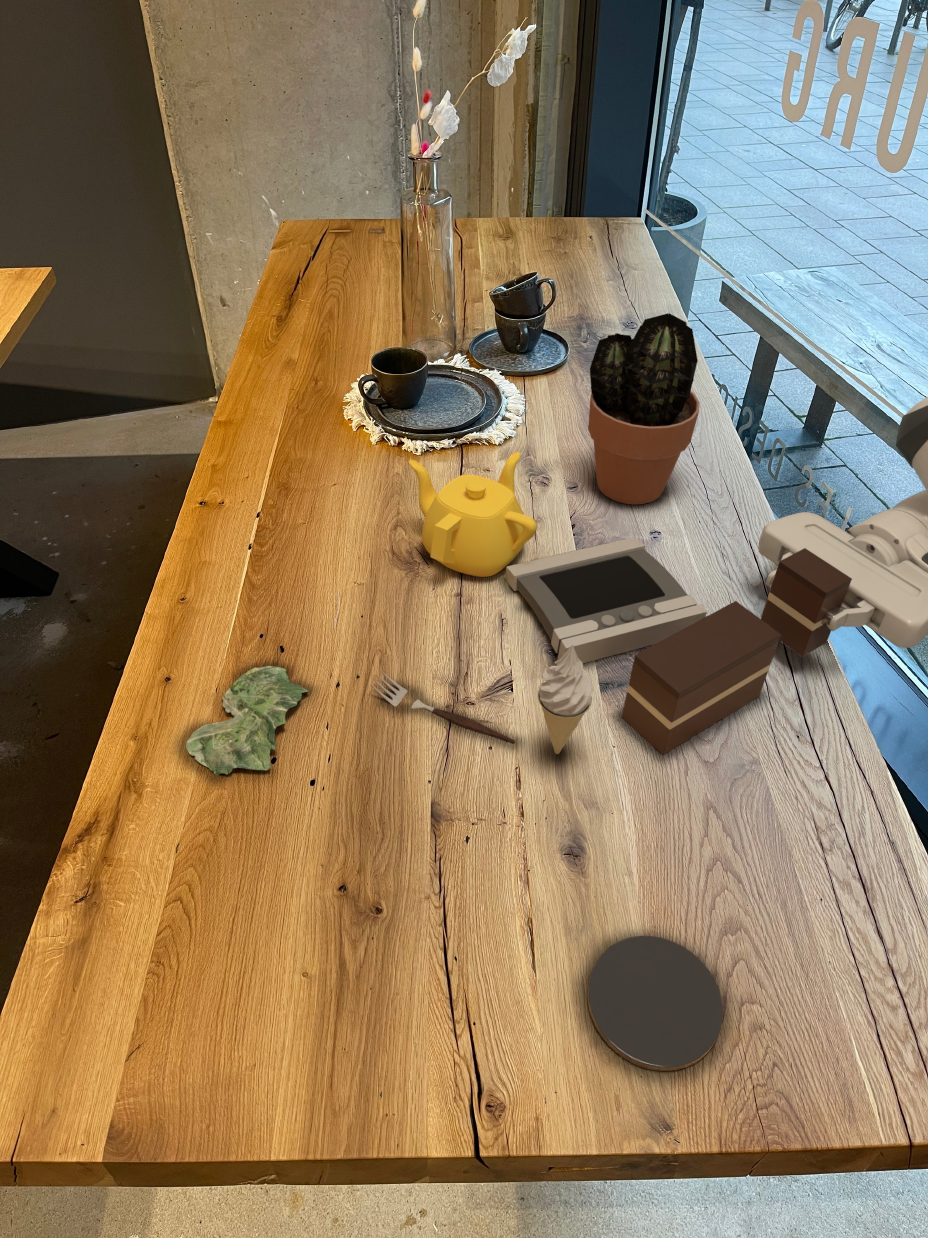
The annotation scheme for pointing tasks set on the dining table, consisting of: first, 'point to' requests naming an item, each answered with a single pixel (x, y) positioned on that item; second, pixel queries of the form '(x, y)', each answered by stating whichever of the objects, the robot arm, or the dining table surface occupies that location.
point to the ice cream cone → (565, 697)
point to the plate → (655, 1003)
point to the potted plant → (642, 407)
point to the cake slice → (804, 600)
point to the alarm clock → (604, 599)
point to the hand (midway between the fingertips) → (799, 602)
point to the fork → (438, 711)
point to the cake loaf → (699, 676)
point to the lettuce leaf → (247, 722)
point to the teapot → (473, 521)
